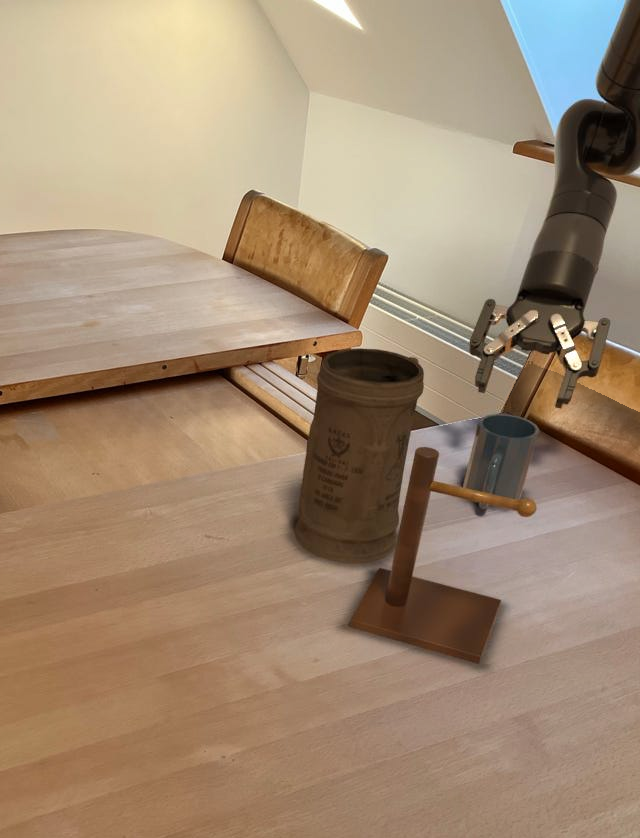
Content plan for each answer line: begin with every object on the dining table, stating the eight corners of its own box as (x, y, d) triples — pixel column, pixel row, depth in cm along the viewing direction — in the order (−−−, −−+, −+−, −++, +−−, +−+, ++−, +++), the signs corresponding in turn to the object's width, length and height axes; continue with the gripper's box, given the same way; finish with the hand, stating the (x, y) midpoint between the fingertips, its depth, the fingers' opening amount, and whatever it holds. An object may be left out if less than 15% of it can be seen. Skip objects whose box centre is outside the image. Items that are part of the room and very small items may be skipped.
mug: (467, 480, 115) (484, 409, 110) (522, 493, 113) (543, 421, 108) (449, 517, 108) (467, 443, 103) (507, 531, 106) (529, 456, 101)
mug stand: (506, 614, 93) (554, 453, 83) (486, 672, 86) (536, 504, 76) (376, 580, 98) (407, 422, 87) (347, 632, 90) (377, 467, 80)
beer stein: (372, 583, 97) (413, 388, 86) (274, 552, 101) (302, 363, 90) (417, 526, 108) (459, 348, 97) (328, 500, 112) (358, 327, 101)
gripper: (499, 239, 109) (456, 370, 108) (633, 258, 105) (590, 396, 103) (497, 275, 116) (456, 399, 115) (622, 294, 112) (581, 424, 110)
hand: (519, 397), depth 109 cm, fingers open, 8 cm apart
